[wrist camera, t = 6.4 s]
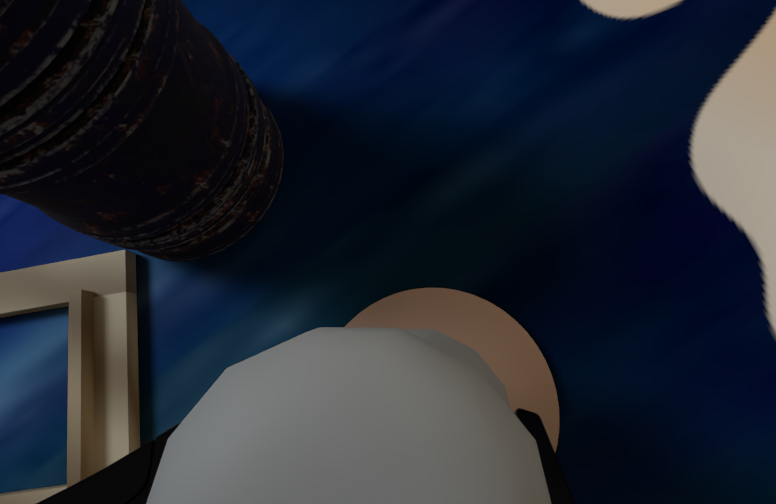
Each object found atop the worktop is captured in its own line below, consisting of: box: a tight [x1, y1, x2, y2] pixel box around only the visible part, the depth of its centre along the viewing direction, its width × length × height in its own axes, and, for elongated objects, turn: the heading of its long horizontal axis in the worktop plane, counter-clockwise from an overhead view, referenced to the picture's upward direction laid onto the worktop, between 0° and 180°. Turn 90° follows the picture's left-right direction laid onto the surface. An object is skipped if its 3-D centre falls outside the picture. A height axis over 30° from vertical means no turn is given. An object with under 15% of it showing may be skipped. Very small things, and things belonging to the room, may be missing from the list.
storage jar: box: [0, 0, 284, 261], centre depth 18 cm, size 10×10×15 cm
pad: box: [345, 288, 559, 452], centre depth 21 cm, size 10×10×1 cm
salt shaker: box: [146, 327, 551, 504], centre depth 11 cm, size 6×6×13 cm
